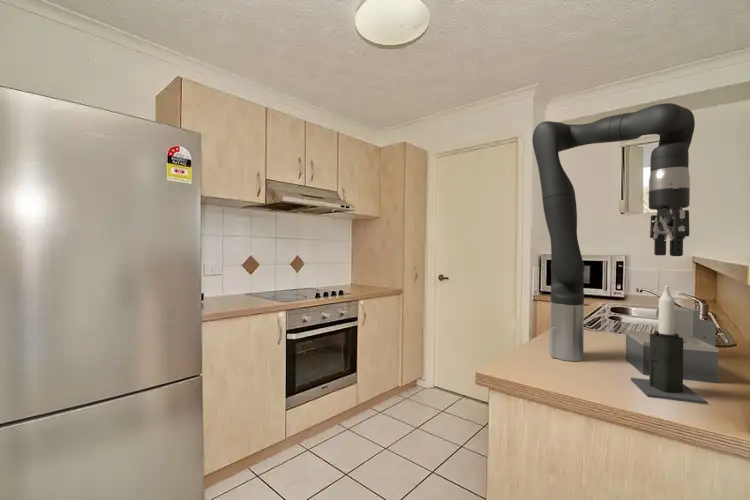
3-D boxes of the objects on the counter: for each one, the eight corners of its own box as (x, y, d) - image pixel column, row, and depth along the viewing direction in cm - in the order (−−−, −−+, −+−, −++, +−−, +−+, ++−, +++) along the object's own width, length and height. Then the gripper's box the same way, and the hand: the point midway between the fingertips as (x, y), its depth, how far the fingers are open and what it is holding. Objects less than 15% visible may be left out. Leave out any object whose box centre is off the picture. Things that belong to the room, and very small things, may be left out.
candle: (646, 384, 86) (647, 284, 85) (665, 383, 86) (666, 284, 86) (665, 393, 80) (666, 286, 80) (685, 392, 81) (686, 286, 81)
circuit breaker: (721, 359, 108) (722, 311, 108) (669, 356, 111) (669, 309, 110) (703, 352, 115) (704, 307, 115) (655, 349, 118) (655, 306, 118)
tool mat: (647, 396, 80) (647, 394, 80) (630, 379, 90) (630, 377, 90) (707, 404, 76) (707, 401, 76) (682, 385, 86) (682, 383, 86)
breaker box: (643, 374, 94) (643, 342, 94) (625, 359, 107) (625, 330, 107) (718, 383, 88) (718, 348, 88) (690, 365, 101) (690, 335, 101)
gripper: (638, 194, 91) (638, 255, 91) (662, 184, 77) (661, 256, 77) (674, 192, 88) (673, 255, 88) (704, 182, 75) (703, 256, 75)
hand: (667, 255), depth 83 cm, fingers open, 8 cm apart
